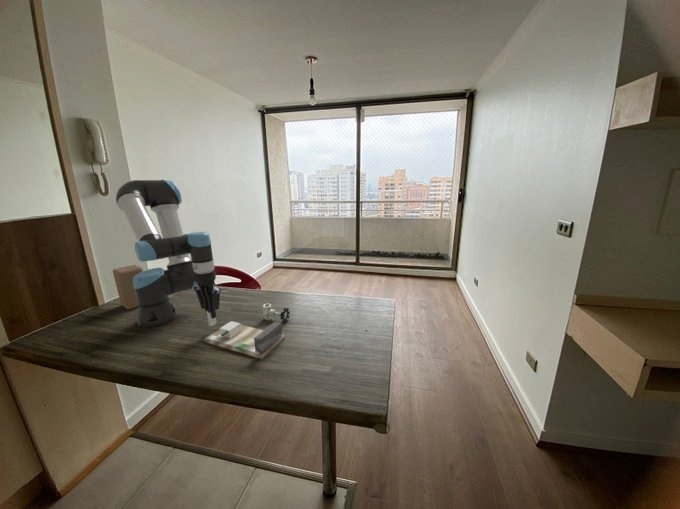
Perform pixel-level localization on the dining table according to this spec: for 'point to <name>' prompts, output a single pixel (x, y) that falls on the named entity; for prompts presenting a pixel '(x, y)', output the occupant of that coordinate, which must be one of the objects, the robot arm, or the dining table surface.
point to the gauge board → (250, 340)
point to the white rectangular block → (230, 329)
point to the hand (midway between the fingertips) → (212, 324)
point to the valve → (274, 313)
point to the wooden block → (127, 285)
